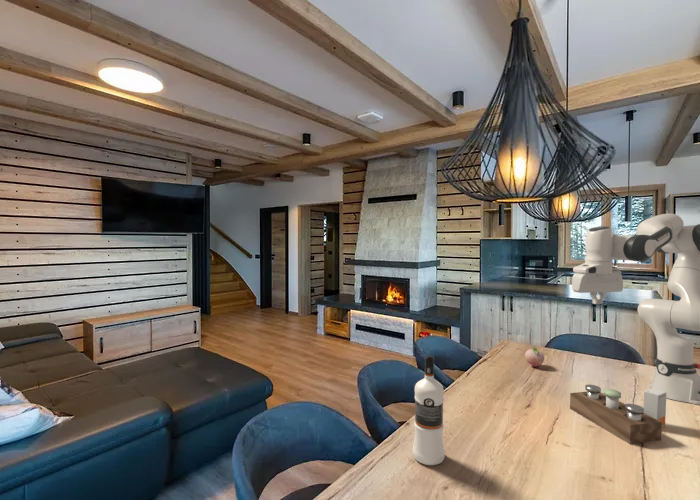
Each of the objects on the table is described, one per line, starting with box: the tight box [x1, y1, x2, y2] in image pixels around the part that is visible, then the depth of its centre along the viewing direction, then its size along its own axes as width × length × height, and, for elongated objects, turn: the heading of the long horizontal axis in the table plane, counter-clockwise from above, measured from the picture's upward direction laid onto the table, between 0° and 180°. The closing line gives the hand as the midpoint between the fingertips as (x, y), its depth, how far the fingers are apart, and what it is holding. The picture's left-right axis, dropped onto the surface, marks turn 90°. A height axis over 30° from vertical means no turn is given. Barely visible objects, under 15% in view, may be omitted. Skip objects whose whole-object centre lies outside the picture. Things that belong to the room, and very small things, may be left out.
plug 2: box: [624, 403, 644, 421], centre depth 118 cm, size 5×5×9 cm
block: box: [569, 391, 663, 445], centre depth 126 cm, size 12×24×6 cm, turn 11°
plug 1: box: [584, 384, 602, 399], centre depth 134 cm, size 5×5×9 cm
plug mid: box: [603, 388, 622, 410], centre depth 126 cm, size 5×5×9 cm
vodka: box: [412, 355, 446, 466], centre depth 106 cm, size 9×9×30 cm
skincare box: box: [643, 388, 667, 428], centre depth 124 cm, size 6×4×12 cm
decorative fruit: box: [524, 347, 545, 368], centre depth 181 cm, size 9×8×10 cm
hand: (597, 303), depth 141 cm, fingers closed
